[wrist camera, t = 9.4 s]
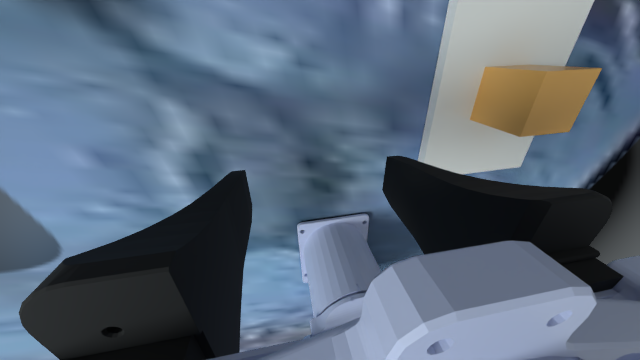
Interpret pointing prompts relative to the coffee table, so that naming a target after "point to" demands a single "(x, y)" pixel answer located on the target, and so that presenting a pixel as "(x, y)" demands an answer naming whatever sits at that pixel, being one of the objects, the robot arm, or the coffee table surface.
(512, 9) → the plate
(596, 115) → the coffee table surface
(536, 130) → the tan cardboard-like box
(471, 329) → the robot arm
